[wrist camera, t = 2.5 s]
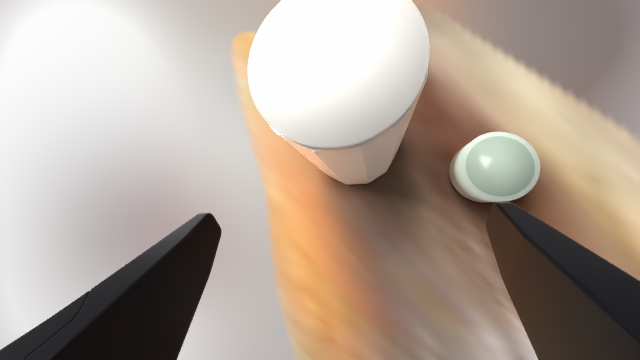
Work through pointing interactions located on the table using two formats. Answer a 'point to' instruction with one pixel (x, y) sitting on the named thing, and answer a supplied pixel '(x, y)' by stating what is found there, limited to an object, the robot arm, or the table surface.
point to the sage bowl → (495, 168)
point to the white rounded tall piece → (340, 80)
